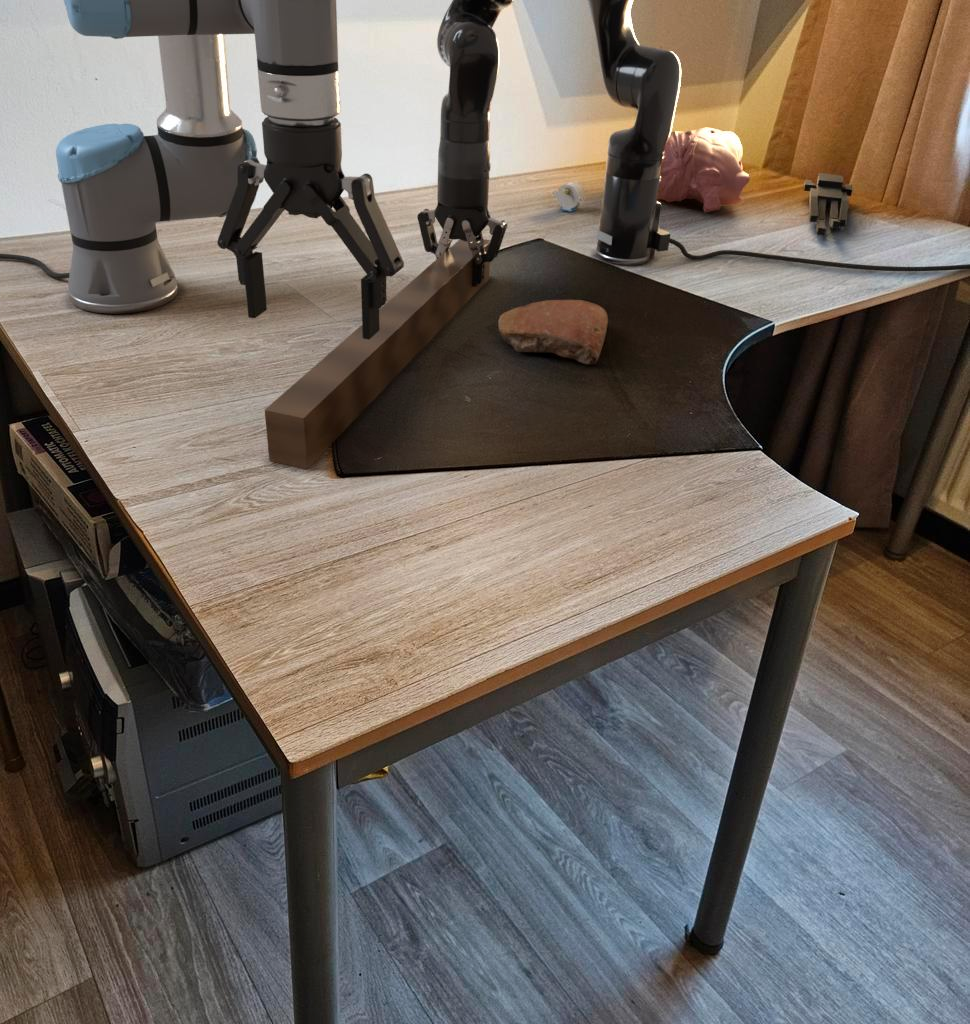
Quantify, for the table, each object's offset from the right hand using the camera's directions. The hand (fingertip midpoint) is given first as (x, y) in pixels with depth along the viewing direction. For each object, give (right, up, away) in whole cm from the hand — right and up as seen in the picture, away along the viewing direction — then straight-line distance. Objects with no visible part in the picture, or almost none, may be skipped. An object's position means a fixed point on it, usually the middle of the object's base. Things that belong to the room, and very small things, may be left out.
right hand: (460, 282), depth 149 cm
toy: (+72, +23, +42) cm, 86 cm away
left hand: (-15, -15, -45) cm, 50 cm away
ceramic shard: (+13, -11, -13) cm, 22 cm away
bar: (-8, -14, -18) cm, 24 cm away
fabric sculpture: (+47, +33, +55) cm, 79 cm away
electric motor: (+20, +23, +39) cm, 50 cm away
